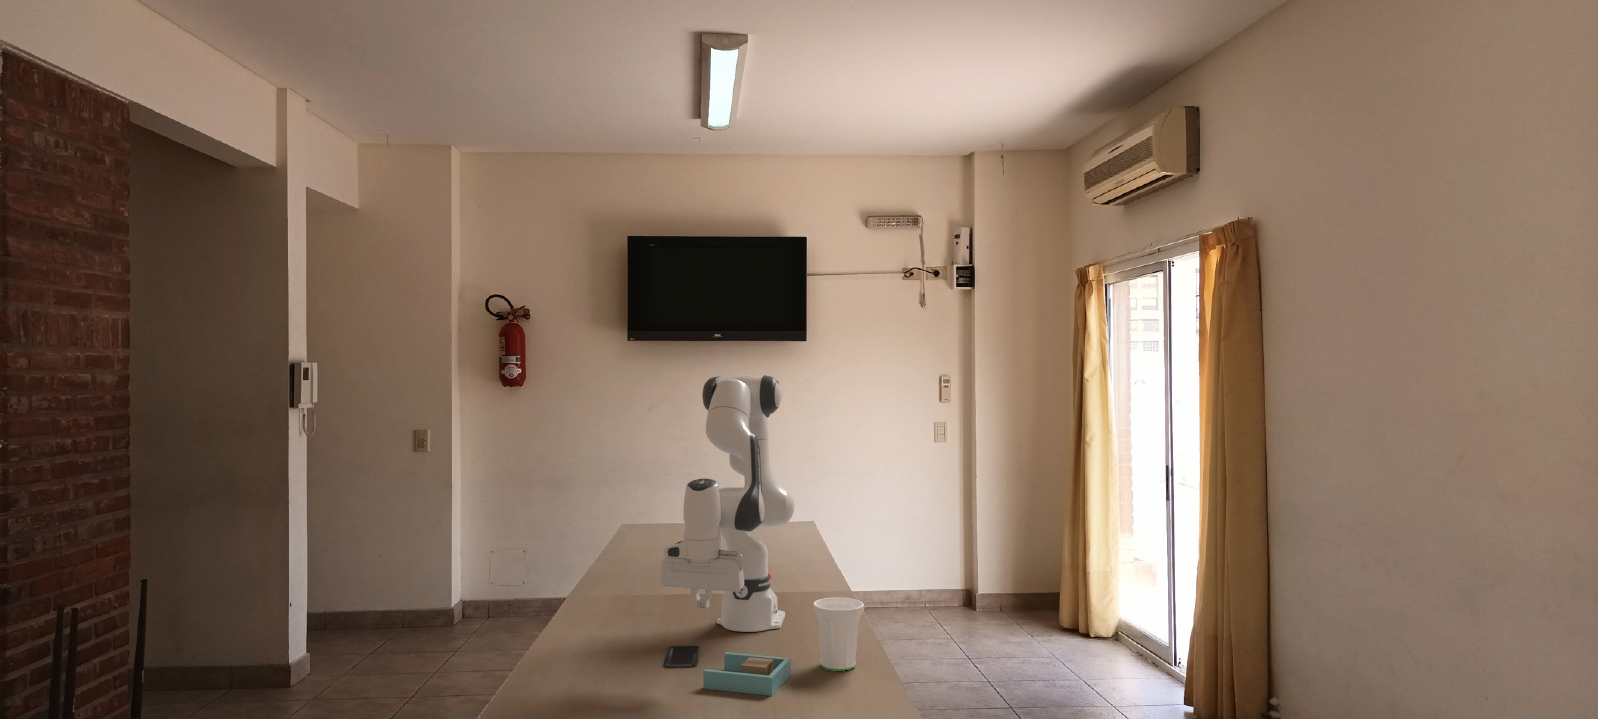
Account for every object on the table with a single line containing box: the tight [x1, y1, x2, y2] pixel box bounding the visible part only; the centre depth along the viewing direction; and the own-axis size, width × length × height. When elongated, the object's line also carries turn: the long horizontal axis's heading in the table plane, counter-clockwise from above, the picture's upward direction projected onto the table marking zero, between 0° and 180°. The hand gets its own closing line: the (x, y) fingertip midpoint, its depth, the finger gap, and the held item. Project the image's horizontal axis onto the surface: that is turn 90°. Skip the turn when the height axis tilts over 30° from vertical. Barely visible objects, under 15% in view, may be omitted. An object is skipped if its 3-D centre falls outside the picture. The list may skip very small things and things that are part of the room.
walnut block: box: [740, 657, 774, 676], centre depth 212 cm, size 6×6×5 cm
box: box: [702, 651, 792, 697], centre depth 214 cm, size 14×16×4 cm
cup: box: [812, 596, 865, 672], centre depth 225 cm, size 12×12×15 cm
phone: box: [664, 645, 701, 669], centre depth 231 cm, size 8×1×15 cm
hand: (702, 607), depth 217 cm, fingers closed
